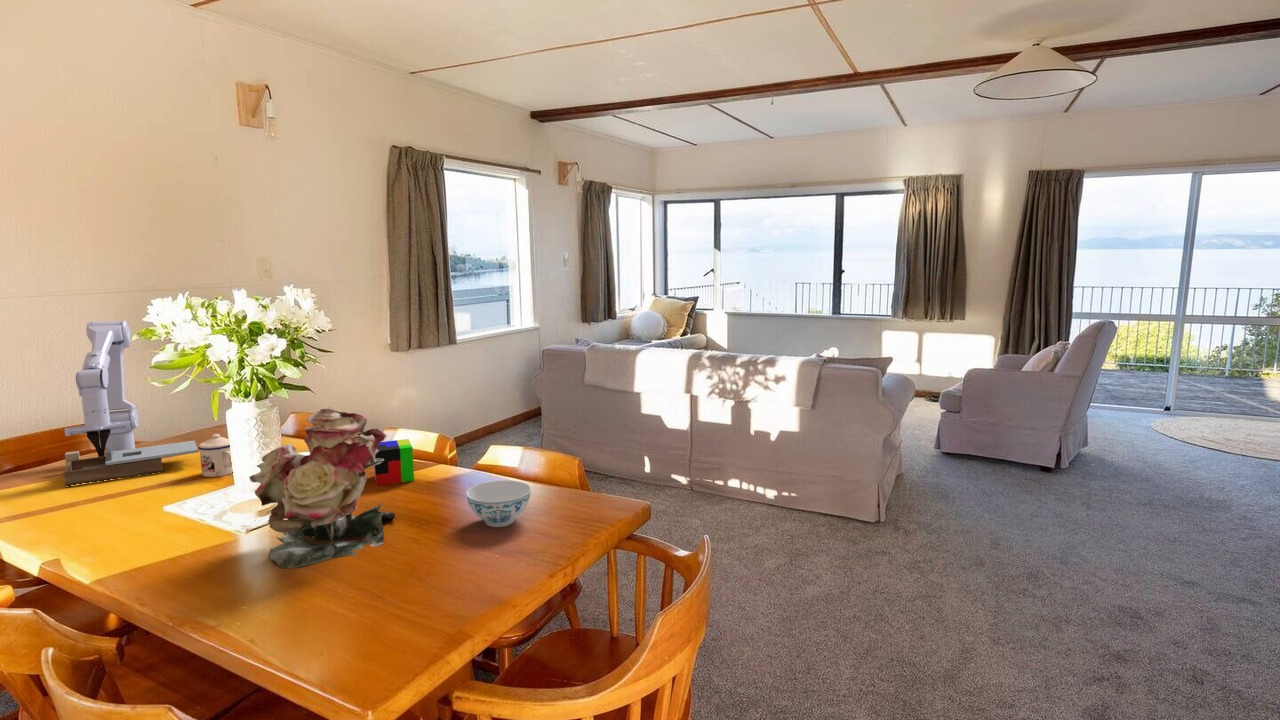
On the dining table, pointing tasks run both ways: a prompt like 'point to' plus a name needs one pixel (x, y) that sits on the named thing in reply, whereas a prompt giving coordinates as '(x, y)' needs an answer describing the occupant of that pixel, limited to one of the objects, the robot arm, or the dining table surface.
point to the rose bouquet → (322, 490)
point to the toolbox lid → (149, 452)
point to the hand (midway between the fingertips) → (101, 456)
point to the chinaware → (498, 501)
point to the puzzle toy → (394, 462)
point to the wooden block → (72, 456)
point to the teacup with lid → (215, 457)
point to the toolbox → (107, 469)
